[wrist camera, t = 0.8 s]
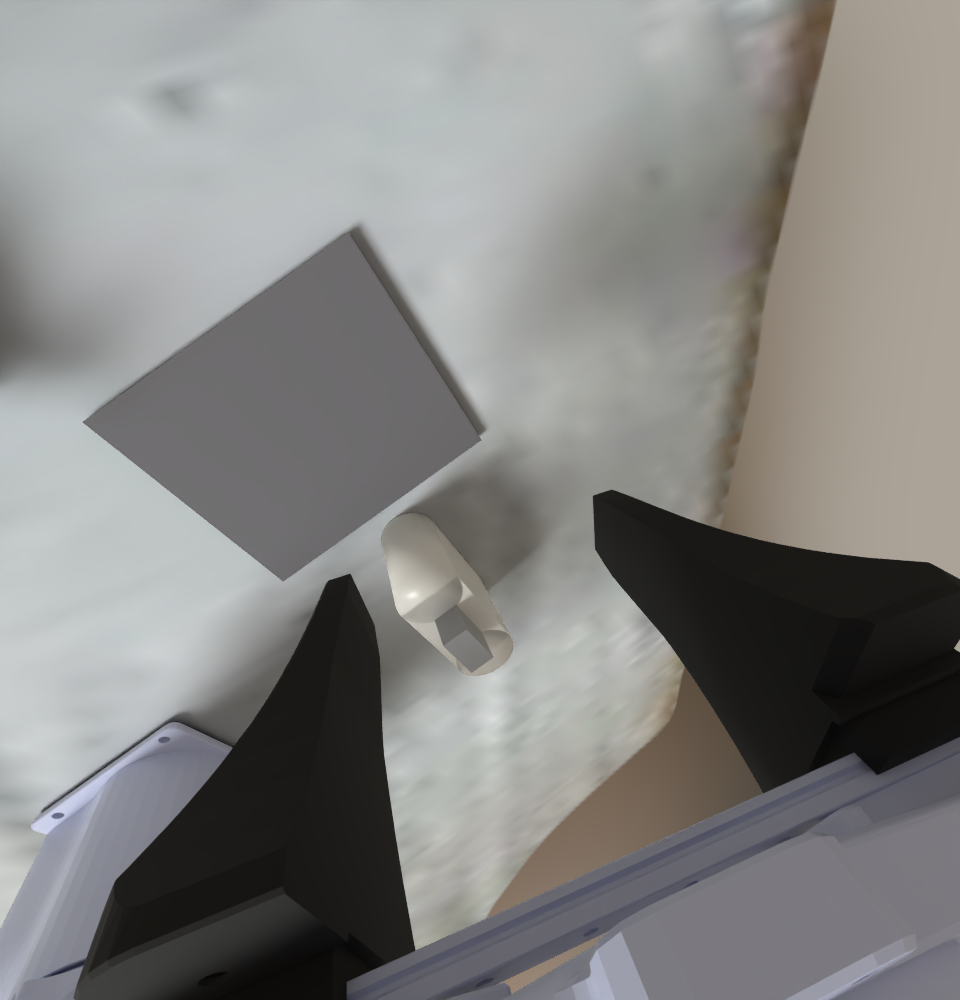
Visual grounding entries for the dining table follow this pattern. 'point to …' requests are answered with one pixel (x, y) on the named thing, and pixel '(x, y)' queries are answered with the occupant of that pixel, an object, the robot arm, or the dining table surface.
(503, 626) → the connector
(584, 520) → the dining table surface
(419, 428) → the mat
